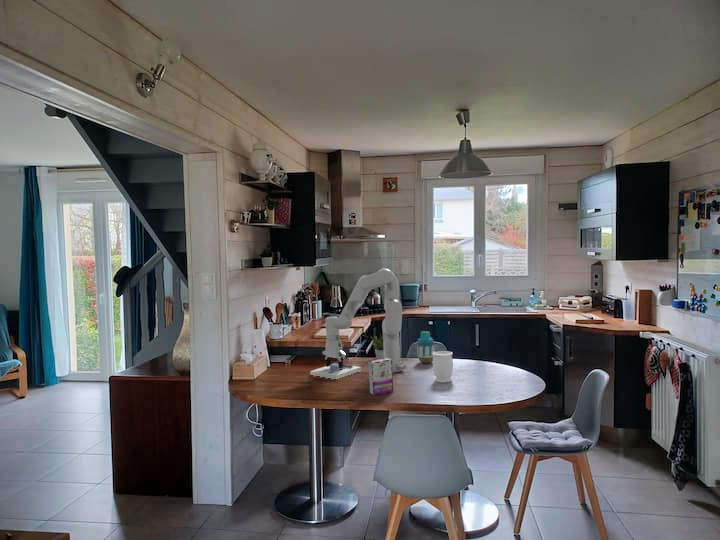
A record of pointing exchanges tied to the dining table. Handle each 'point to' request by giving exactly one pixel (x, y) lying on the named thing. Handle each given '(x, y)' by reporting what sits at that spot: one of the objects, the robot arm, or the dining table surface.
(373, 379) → the candy bar box
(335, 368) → the stacked blue discs
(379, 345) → the house plant
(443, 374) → the jar
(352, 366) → the dark gray bar handle
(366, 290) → the robot arm
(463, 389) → the dining table surface
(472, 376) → the dining table surface
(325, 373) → the white frame with handle
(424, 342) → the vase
